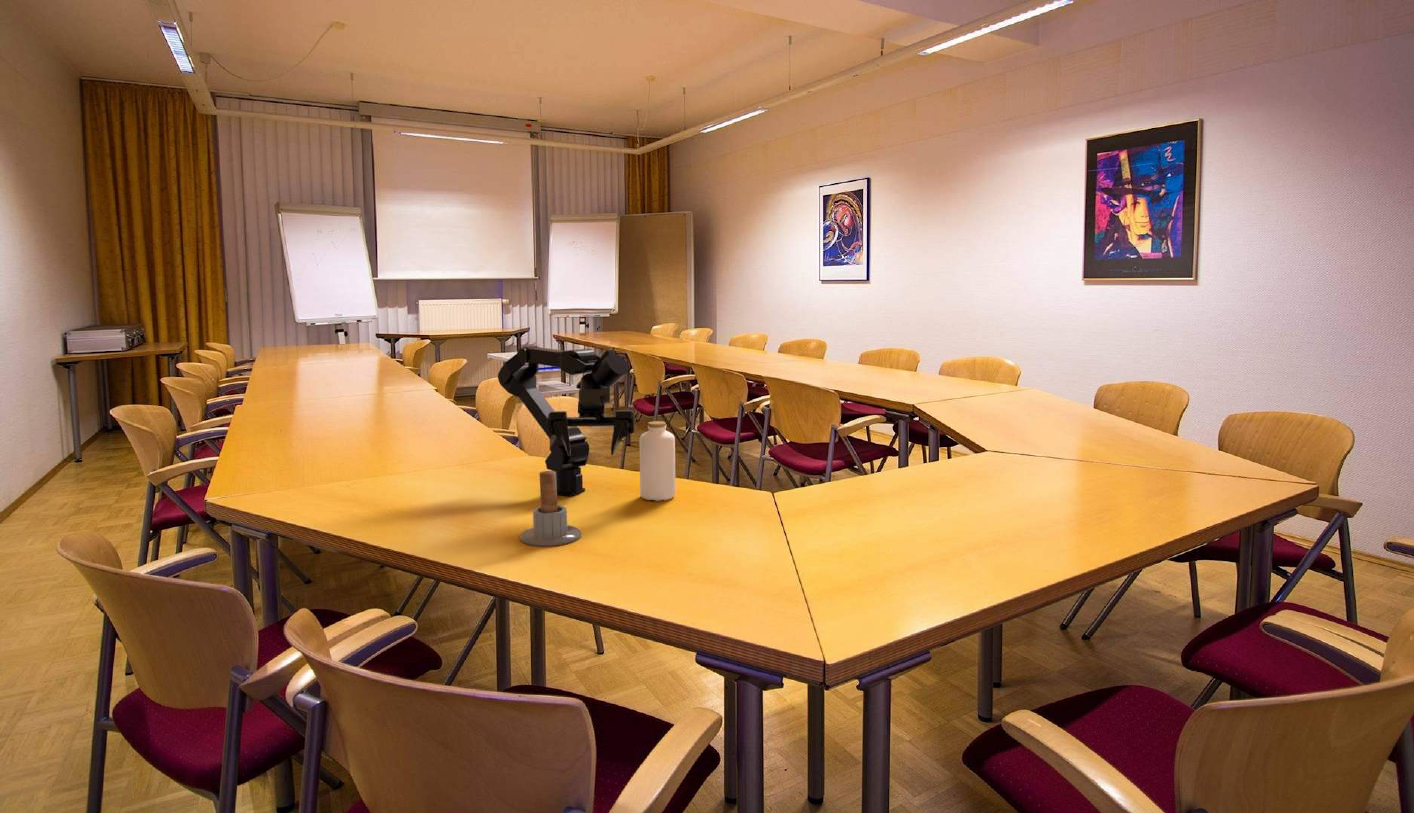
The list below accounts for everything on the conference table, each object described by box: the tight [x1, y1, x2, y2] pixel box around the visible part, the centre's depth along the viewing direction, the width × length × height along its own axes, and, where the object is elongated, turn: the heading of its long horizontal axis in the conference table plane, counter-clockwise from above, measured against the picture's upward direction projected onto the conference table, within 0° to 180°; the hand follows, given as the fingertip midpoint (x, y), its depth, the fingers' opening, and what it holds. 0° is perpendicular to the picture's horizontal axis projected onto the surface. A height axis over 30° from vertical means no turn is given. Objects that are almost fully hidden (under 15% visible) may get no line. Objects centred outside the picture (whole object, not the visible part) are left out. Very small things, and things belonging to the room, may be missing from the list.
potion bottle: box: [639, 420, 676, 502], centre depth 182 cm, size 8×8×18 cm
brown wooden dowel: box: [538, 470, 559, 513], centre depth 153 cm, size 3×3×12 cm
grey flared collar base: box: [519, 504, 582, 548], centre depth 154 cm, size 12×12×6 cm
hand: (590, 454), depth 167 cm, fingers open, 9 cm apart
